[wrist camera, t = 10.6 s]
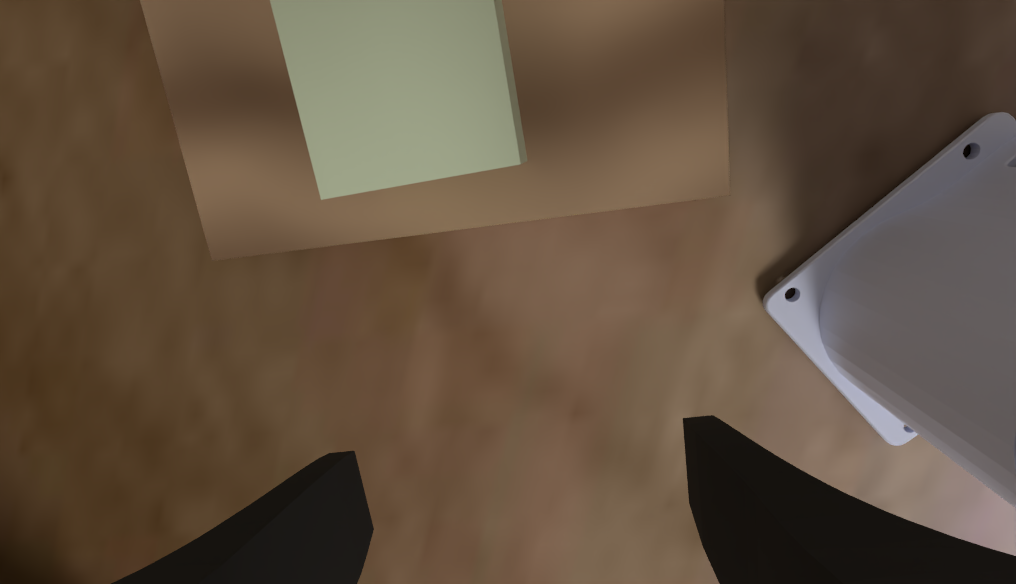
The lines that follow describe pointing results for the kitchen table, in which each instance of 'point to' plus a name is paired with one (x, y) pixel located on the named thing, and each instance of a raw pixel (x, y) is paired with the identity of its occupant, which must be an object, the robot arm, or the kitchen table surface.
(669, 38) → the walnut board
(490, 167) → the sage cube
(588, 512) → the kitchen table surface
